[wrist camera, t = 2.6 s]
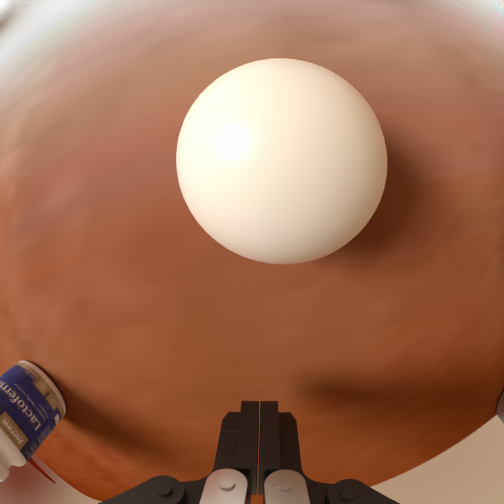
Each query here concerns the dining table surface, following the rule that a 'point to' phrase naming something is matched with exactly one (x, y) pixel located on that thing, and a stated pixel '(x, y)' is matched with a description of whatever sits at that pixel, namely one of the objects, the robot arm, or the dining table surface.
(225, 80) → the cue ball
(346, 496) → the robot arm
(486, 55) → the dining table surface
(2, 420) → the pill bottle
